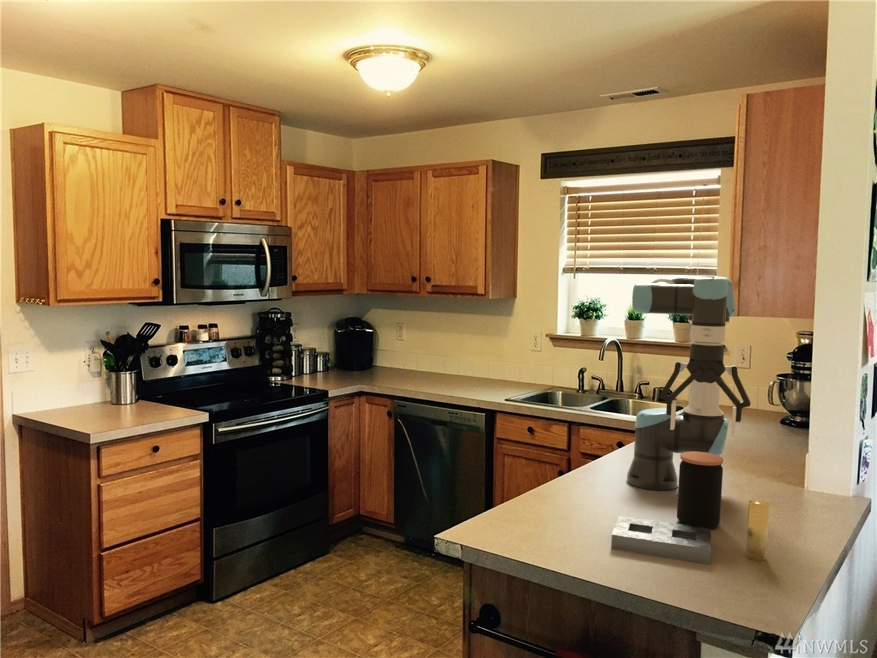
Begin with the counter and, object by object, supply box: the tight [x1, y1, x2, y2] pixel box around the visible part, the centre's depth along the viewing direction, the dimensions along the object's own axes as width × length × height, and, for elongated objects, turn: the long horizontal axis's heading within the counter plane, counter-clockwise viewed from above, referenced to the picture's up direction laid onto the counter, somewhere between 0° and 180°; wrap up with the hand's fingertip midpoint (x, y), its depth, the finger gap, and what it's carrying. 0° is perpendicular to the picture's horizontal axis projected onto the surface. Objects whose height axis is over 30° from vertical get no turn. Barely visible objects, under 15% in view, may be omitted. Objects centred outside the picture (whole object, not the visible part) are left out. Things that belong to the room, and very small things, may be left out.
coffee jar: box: [676, 452, 724, 530], centre depth 188 cm, size 11×11×18 cm
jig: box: [610, 515, 712, 565], centre depth 173 cm, size 14×22×4 cm, turn 69°
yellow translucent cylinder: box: [745, 499, 770, 562], centre depth 167 cm, size 4×4×13 cm
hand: (702, 432), depth 171 cm, fingers open, 13 cm apart
